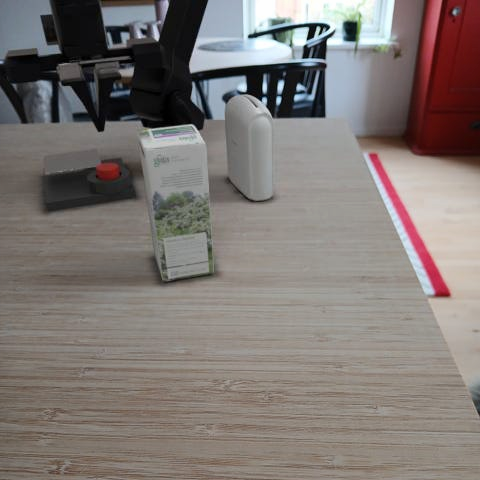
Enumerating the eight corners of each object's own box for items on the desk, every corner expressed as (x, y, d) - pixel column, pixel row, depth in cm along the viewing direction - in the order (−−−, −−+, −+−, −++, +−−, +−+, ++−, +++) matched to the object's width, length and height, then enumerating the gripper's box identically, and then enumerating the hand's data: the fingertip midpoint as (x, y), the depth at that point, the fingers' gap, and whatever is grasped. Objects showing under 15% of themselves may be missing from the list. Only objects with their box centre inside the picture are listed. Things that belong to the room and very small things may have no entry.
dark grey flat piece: (122, 165, 83) (119, 147, 81) (136, 199, 72) (133, 178, 70) (45, 176, 80) (40, 157, 78) (48, 213, 69) (42, 192, 67)
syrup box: (204, 250, 59) (193, 120, 51) (215, 275, 55) (205, 138, 46) (155, 258, 58) (135, 127, 50) (162, 284, 54) (142, 145, 45)
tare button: (118, 172, 73) (116, 161, 72) (121, 179, 71) (119, 168, 70) (97, 175, 73) (95, 164, 72) (99, 182, 70) (97, 171, 69)
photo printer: (224, 178, 77) (219, 90, 70) (251, 173, 78) (249, 86, 71) (249, 204, 69) (246, 108, 62) (278, 198, 70) (279, 104, 63)
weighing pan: (97, 151, 80) (96, 148, 80) (102, 168, 74) (102, 165, 74) (43, 158, 78) (43, 155, 78) (45, 176, 72) (44, 173, 72)
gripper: (142, -18, 67) (158, 107, 76) (-9, -7, 63) (27, 124, 72) (158, -12, 59) (174, 128, 68) (-15, 0, 54) (27, 148, 64)
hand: (100, 131), depth 68 cm, fingers closed
